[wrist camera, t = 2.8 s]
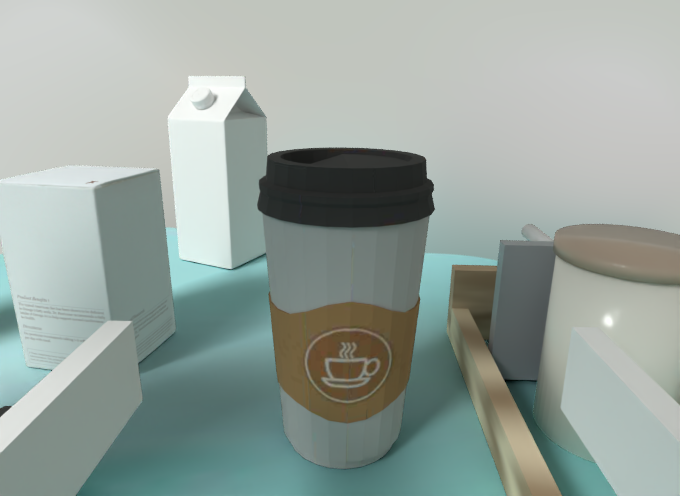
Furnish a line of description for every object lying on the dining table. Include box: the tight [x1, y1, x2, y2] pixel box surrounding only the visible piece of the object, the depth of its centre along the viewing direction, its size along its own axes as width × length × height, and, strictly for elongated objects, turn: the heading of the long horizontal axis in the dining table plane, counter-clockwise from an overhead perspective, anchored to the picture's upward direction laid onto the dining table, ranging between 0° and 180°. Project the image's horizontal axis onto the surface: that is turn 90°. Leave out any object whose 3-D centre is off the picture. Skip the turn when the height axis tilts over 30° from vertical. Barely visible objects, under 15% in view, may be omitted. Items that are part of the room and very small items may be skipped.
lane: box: [447, 265, 562, 496], centre depth 27 cm, size 25×13×6 cm, turn 178°
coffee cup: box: [257, 148, 435, 469], centre depth 26 cm, size 8×8×15 cm
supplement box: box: [0, 165, 176, 370], centre depth 34 cm, size 7×7×13 cm
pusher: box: [488, 224, 556, 380], centre depth 36 cm, size 11×10×9 cm
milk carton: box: [168, 76, 267, 269], centre depth 54 cm, size 7×7×19 cm
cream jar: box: [533, 224, 680, 463], centre depth 27 cm, size 7×7×11 cm
